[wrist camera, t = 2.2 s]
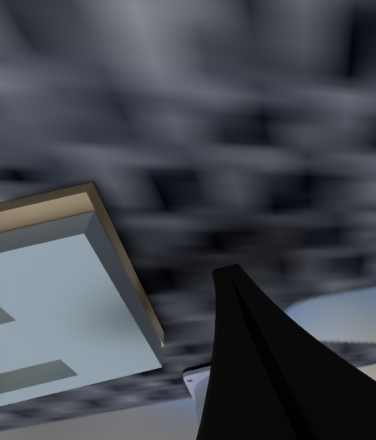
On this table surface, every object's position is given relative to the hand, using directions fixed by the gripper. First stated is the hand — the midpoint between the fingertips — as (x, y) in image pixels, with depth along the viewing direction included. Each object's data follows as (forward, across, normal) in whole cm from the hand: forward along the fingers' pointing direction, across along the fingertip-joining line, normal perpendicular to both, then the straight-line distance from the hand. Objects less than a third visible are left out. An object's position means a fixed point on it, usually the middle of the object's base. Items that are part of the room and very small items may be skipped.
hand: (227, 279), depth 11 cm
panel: (0, +12, 0) cm, 12 cm away
